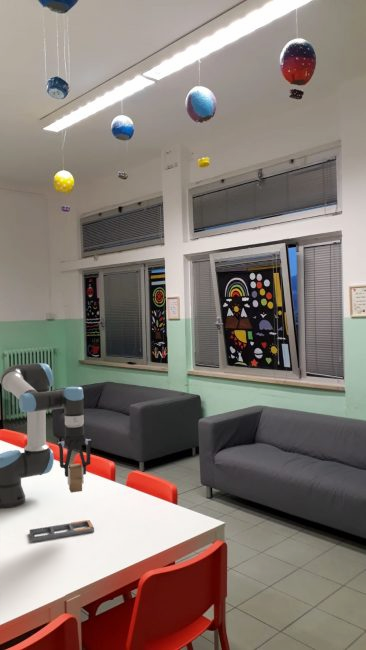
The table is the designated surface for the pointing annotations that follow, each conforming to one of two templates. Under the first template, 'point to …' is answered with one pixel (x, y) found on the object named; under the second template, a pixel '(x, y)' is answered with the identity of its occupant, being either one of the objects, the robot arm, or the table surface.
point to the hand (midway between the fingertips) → (75, 483)
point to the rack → (60, 527)
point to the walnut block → (75, 478)
